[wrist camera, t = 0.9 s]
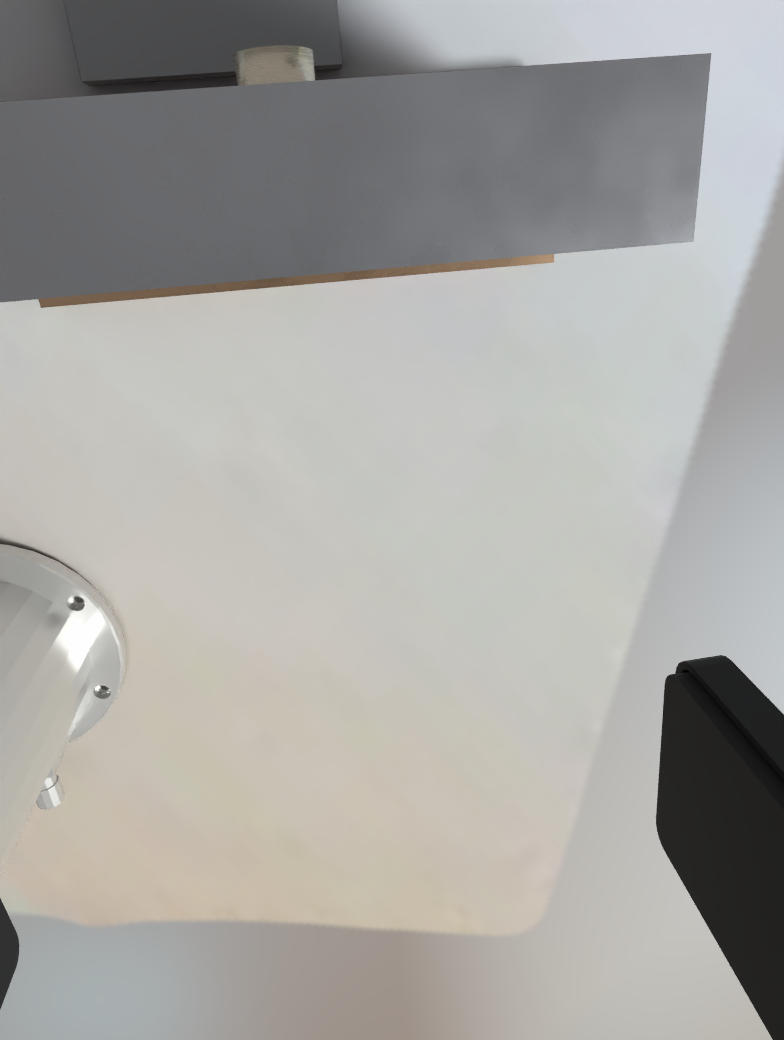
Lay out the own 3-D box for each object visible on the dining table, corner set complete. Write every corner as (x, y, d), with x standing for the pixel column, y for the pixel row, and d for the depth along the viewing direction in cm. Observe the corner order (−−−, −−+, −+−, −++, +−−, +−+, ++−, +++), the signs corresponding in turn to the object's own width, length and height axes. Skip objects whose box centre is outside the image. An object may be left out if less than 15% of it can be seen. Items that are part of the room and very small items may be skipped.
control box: (543, 259, 33) (724, 300, 18) (52, 303, 31) (-160, 382, 17) (545, 74, 30) (764, -48, 15) (2, 112, 28) (-307, 15, 14)
